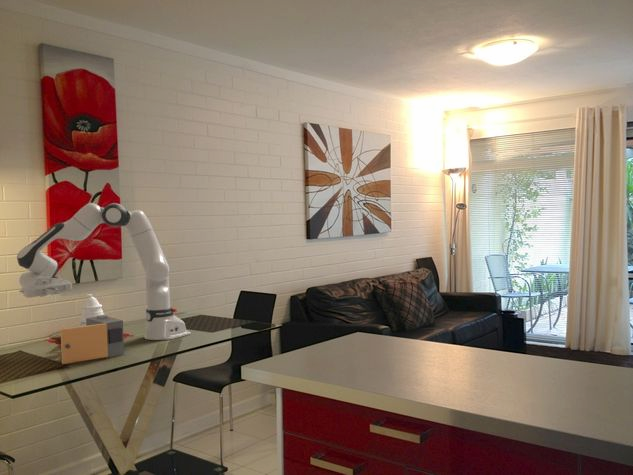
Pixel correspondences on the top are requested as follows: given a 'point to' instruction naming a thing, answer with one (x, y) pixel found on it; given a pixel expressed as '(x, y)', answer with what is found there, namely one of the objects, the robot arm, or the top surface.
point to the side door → (84, 343)
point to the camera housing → (111, 333)
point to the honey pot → (90, 309)
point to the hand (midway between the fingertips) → (55, 292)
